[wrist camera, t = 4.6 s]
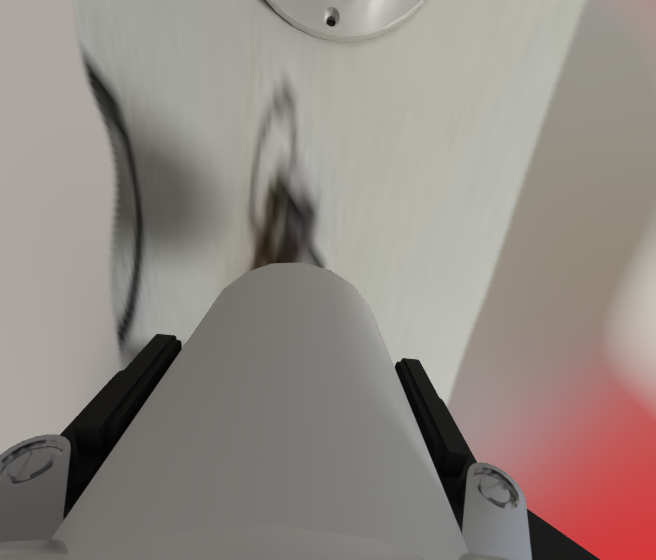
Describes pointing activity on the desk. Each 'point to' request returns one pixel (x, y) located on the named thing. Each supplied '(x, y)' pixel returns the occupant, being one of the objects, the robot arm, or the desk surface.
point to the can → (272, 442)
